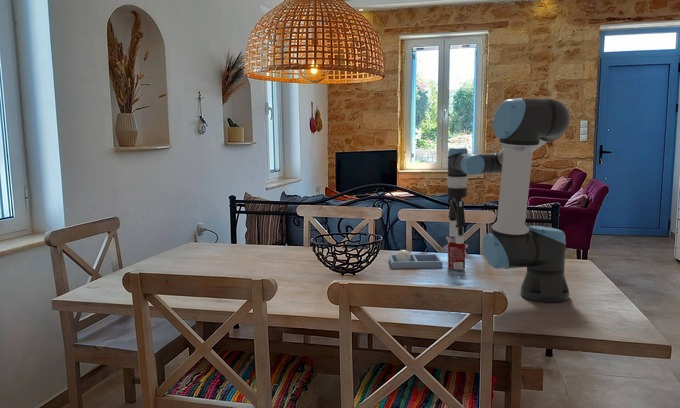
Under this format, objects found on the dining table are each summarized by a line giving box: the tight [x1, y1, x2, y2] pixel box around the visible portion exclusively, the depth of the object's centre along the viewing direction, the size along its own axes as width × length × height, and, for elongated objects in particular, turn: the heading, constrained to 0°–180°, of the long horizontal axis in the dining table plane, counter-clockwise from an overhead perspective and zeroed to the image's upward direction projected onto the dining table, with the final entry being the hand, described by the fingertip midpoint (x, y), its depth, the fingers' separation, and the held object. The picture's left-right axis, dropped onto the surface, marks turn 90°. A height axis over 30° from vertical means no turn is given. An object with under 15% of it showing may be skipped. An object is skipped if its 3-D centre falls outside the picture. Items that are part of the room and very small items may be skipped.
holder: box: [388, 253, 443, 269], centre depth 220 cm, size 14×20×3 cm, turn 89°
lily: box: [442, 236, 469, 259], centre depth 233 cm, size 12×12×10 cm
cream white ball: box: [395, 249, 411, 262], centre depth 220 cm, size 6×6×6 cm
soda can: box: [447, 238, 466, 272], centre depth 210 cm, size 7×7×12 cm
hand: (456, 239), depth 210 cm, fingers open, 13 cm apart
